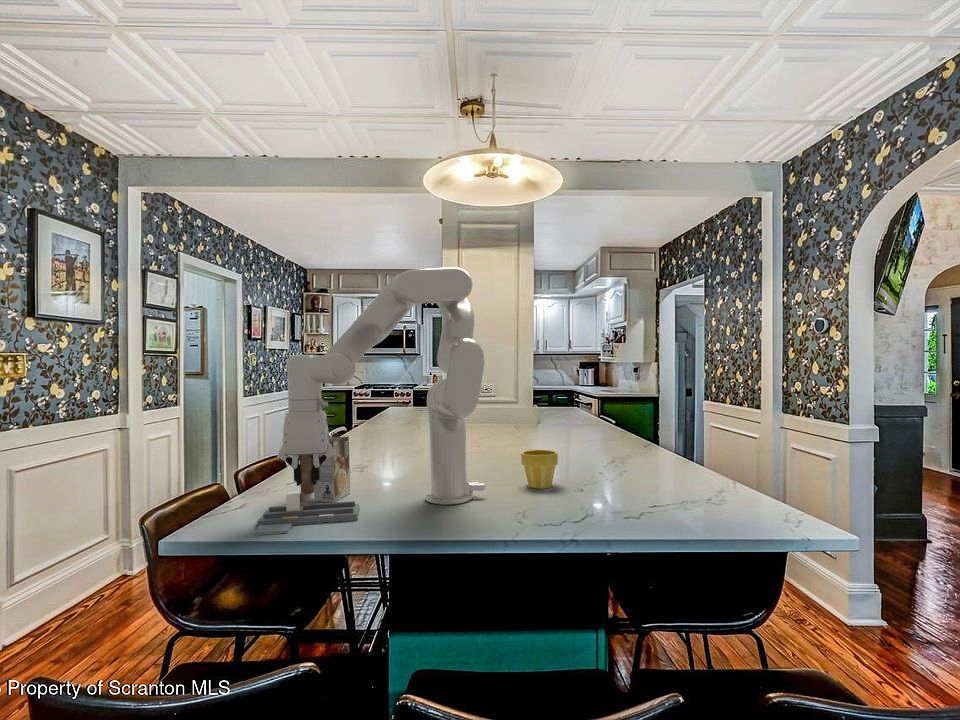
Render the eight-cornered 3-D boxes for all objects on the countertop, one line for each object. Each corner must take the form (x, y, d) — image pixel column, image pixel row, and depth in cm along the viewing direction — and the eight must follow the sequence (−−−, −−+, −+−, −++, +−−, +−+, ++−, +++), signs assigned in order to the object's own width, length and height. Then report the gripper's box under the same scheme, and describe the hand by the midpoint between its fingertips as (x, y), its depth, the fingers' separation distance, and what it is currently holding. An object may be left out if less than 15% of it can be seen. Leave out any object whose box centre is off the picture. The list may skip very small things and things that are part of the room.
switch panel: (359, 509, 131) (359, 499, 131) (357, 520, 122) (357, 509, 122) (266, 515, 127) (266, 505, 127) (257, 527, 118) (257, 516, 118)
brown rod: (315, 503, 126) (313, 444, 126) (313, 506, 123) (311, 447, 123) (302, 503, 126) (300, 445, 126) (300, 507, 123) (298, 447, 123)
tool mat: (291, 525, 119) (291, 523, 119) (287, 532, 114) (287, 530, 114) (259, 528, 118) (259, 525, 118) (253, 535, 113) (253, 532, 113)
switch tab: (302, 509, 126) (302, 491, 126) (299, 513, 122) (299, 495, 122) (289, 510, 125) (289, 491, 125) (286, 514, 122) (286, 495, 122)
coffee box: (329, 492, 148) (328, 436, 148) (350, 493, 147) (349, 436, 147) (313, 501, 139) (311, 441, 139) (335, 502, 138) (334, 441, 138)
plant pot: (533, 480, 158) (532, 447, 158) (564, 484, 152) (563, 450, 152) (515, 487, 149) (514, 453, 149) (547, 492, 143) (546, 456, 143)
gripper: (342, 404, 129) (343, 478, 129) (272, 406, 127) (274, 482, 127) (339, 406, 122) (341, 485, 122) (265, 409, 119) (267, 490, 119)
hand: (307, 483), depth 124 cm, fingers closed on brown rod, 3 cm apart
